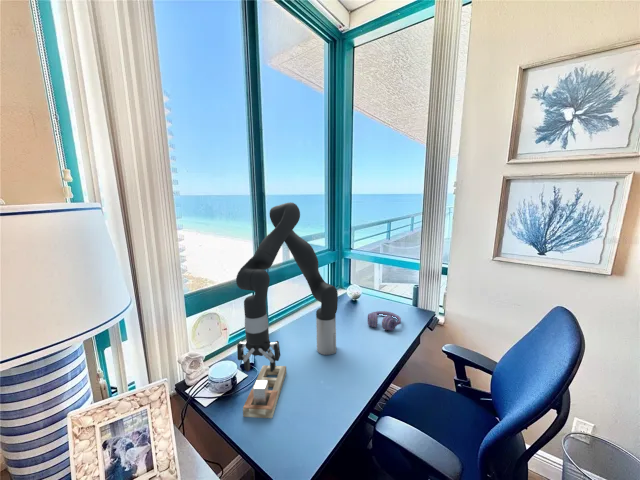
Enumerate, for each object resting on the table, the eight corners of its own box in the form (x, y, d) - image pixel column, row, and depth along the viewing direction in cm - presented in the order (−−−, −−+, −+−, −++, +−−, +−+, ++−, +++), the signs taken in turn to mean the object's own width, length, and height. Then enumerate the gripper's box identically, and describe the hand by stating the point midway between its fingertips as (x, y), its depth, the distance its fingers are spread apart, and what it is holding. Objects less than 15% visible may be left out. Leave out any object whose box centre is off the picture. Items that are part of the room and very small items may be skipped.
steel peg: (269, 402, 94) (267, 380, 92) (266, 411, 90) (264, 388, 88) (258, 402, 94) (256, 380, 92) (254, 411, 90) (253, 388, 88)
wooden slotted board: (286, 372, 110) (286, 365, 109) (272, 418, 87) (271, 409, 86) (263, 371, 110) (263, 364, 110) (243, 416, 88) (242, 408, 87)
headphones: (395, 335, 136) (403, 324, 153) (396, 319, 136) (404, 310, 153) (362, 326, 145) (373, 317, 163) (363, 312, 145) (374, 304, 162)
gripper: (280, 321, 90) (282, 363, 92) (240, 321, 91) (244, 362, 93) (274, 332, 82) (277, 378, 85) (231, 332, 83) (235, 377, 86)
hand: (260, 370), depth 89 cm, fingers open, 8 cm apart
